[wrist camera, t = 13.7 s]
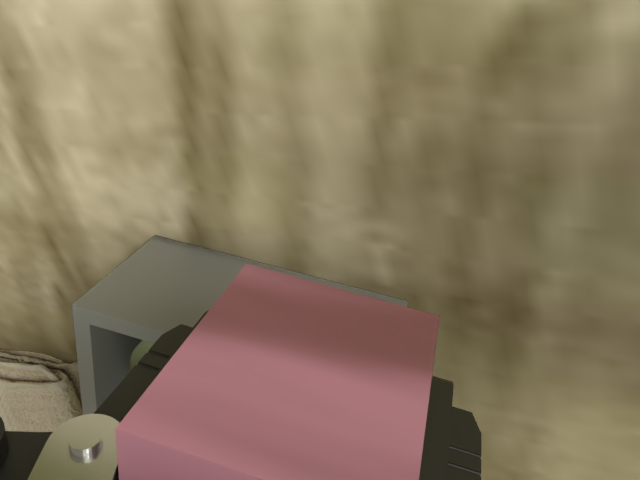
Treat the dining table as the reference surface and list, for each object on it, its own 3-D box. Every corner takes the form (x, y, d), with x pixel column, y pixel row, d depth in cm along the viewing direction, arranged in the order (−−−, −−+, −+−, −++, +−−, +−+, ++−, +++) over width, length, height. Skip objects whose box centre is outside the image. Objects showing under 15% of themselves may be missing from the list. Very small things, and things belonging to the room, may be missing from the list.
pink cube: (246, 263, 12) (115, 428, 8) (439, 315, 11) (412, 530, 7) (235, 402, 14) (126, 591, 10) (396, 453, 13) (355, 682, 9)
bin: (155, 235, 29) (71, 304, 23) (407, 301, 27) (388, 397, 21) (157, 406, 35) (91, 496, 29) (362, 471, 33) (337, 583, 27)
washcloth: (82, 347, 35) (50, 378, 33) (144, 528, 43) (122, 564, 40) (-57, 333, 39) (-97, 360, 36) (23, 503, 46) (-5, 536, 44)
